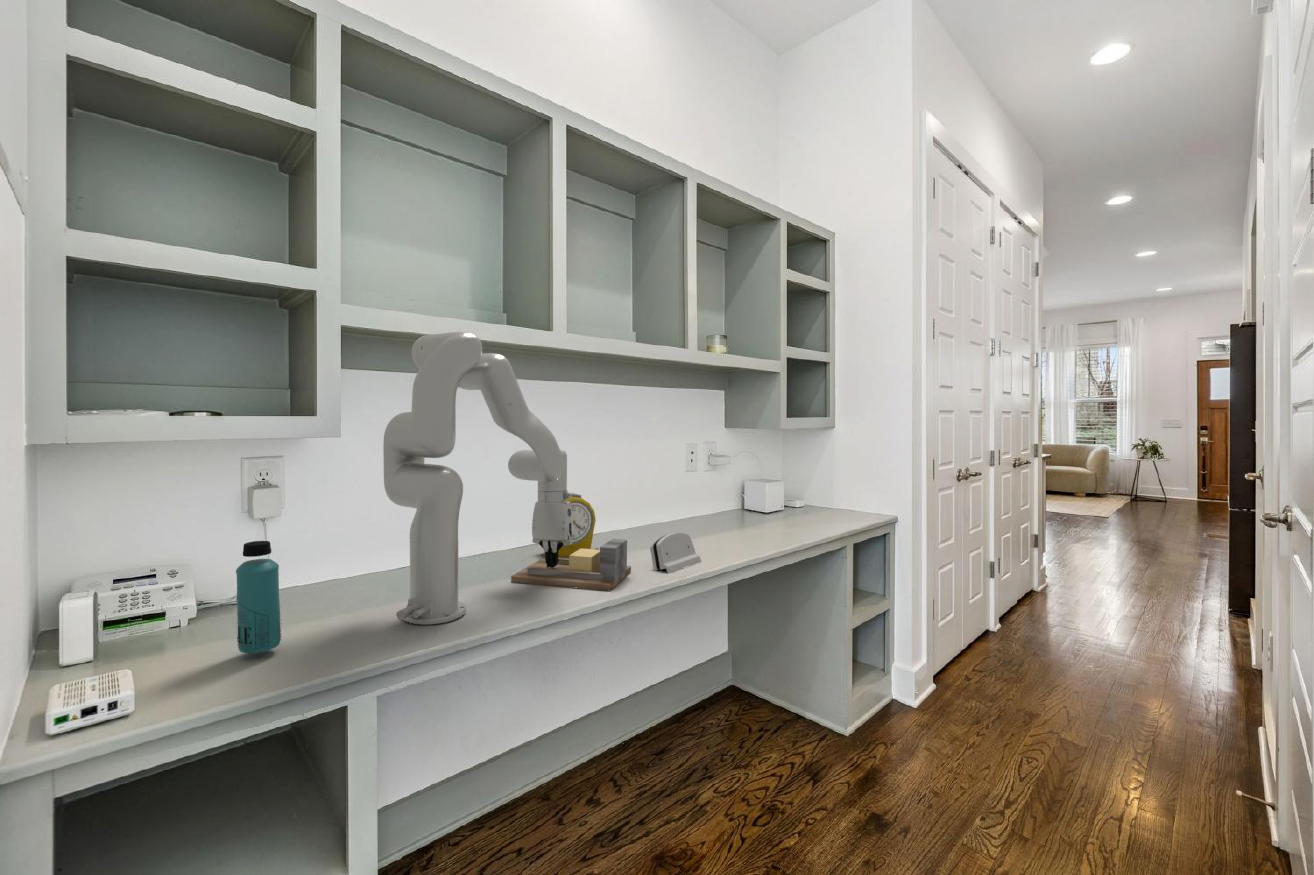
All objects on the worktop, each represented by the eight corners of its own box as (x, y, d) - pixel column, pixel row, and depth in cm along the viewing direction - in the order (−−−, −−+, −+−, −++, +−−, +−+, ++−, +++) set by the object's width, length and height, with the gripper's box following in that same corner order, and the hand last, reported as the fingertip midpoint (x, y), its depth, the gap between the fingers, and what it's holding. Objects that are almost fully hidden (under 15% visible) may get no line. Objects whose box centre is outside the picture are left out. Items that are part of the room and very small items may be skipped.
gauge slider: (591, 576, 150) (591, 557, 150) (569, 575, 151) (569, 555, 151) (607, 564, 162) (607, 546, 162) (586, 562, 164) (586, 544, 163)
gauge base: (609, 591, 144) (610, 552, 143) (511, 582, 150) (511, 544, 149) (630, 571, 161) (631, 536, 160) (541, 564, 167) (542, 530, 167)
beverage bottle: (289, 647, 108) (287, 537, 107) (266, 662, 101) (264, 546, 100) (252, 647, 108) (250, 537, 107) (227, 662, 101) (224, 545, 100)
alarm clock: (550, 559, 173) (550, 496, 172) (539, 553, 180) (539, 492, 179) (596, 553, 181) (596, 492, 180) (584, 547, 188) (584, 489, 187)
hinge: (668, 573, 159) (658, 537, 161) (654, 576, 162) (645, 540, 164) (702, 561, 173) (693, 527, 174) (689, 564, 175) (680, 531, 177)
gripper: (584, 496, 158) (583, 564, 159) (532, 493, 161) (532, 560, 162) (573, 500, 150) (573, 572, 151) (519, 497, 154) (519, 567, 155)
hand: (551, 566), depth 157 cm, fingers closed
